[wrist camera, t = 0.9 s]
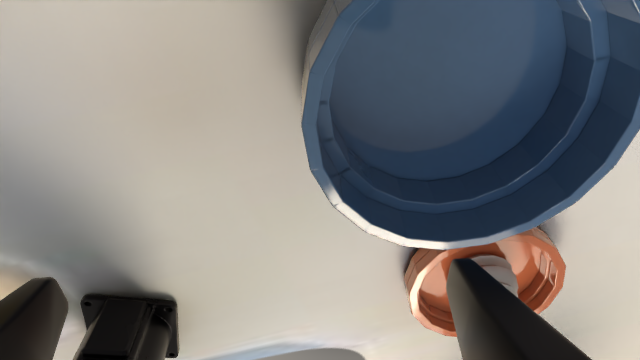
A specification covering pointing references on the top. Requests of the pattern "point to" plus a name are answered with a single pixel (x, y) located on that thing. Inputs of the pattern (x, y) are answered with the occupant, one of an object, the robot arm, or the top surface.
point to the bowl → (467, 112)
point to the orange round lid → (519, 250)
